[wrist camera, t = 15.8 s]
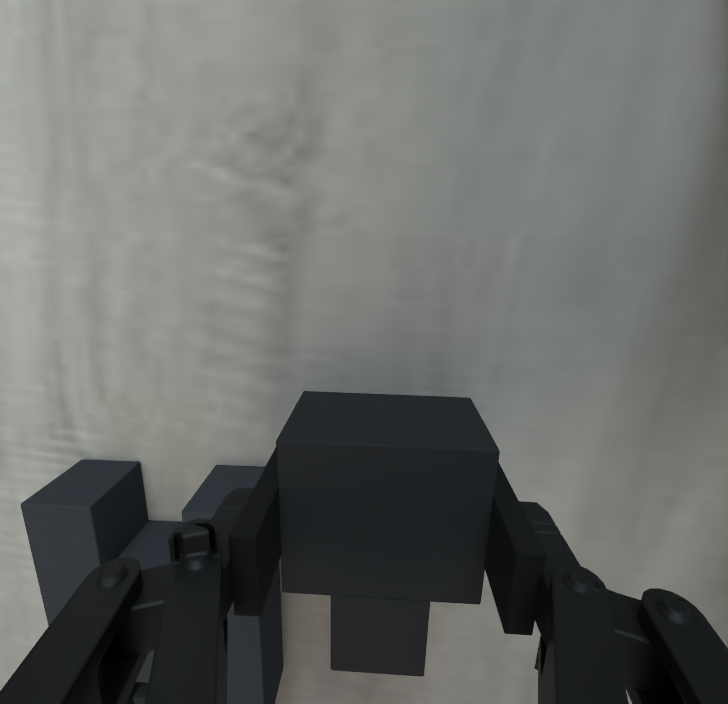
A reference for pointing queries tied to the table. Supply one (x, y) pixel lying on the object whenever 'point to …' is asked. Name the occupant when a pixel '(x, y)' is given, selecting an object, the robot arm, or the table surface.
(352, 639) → the dark grey t-shaped block
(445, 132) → the table surface
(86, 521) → the base tile
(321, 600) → the table surface
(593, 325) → the table surface
